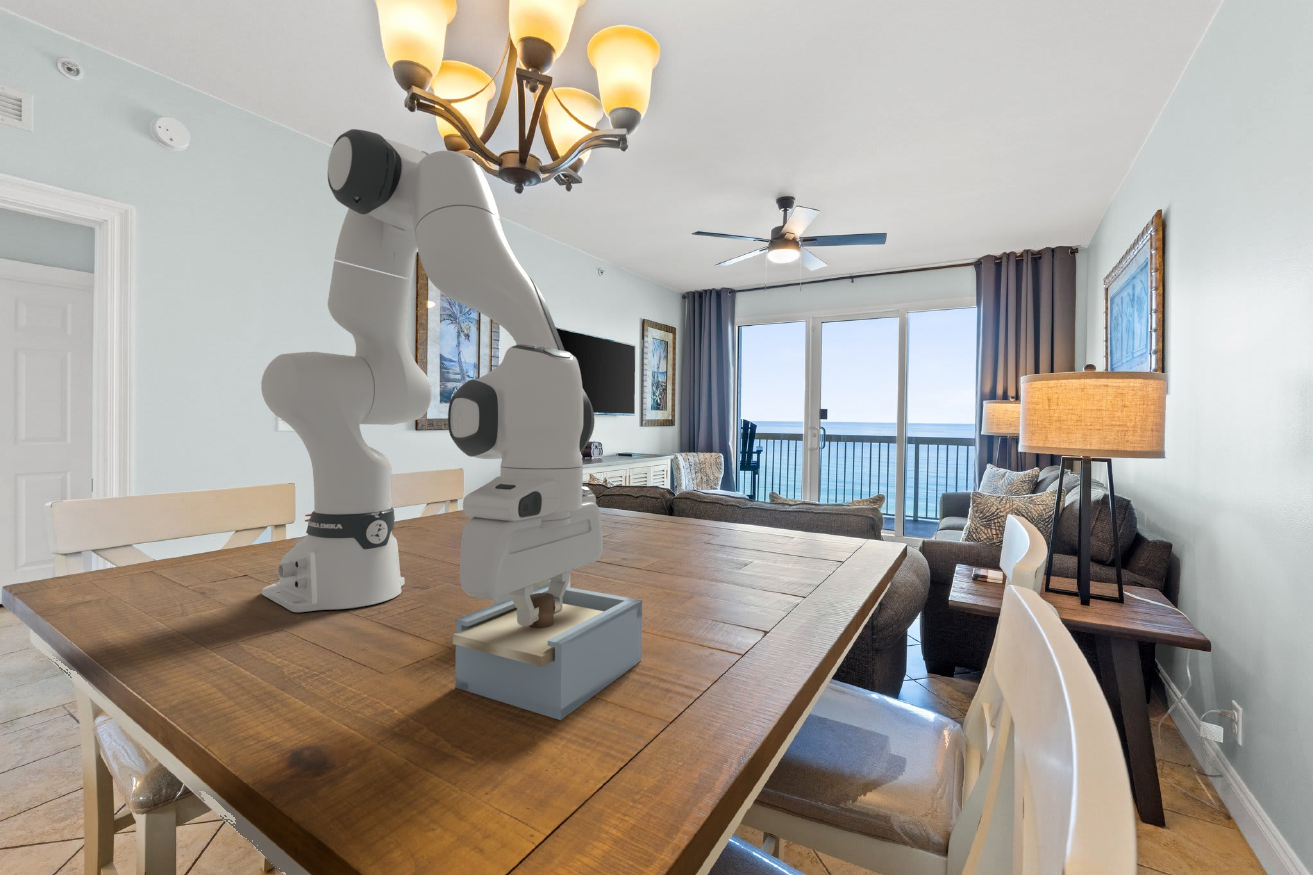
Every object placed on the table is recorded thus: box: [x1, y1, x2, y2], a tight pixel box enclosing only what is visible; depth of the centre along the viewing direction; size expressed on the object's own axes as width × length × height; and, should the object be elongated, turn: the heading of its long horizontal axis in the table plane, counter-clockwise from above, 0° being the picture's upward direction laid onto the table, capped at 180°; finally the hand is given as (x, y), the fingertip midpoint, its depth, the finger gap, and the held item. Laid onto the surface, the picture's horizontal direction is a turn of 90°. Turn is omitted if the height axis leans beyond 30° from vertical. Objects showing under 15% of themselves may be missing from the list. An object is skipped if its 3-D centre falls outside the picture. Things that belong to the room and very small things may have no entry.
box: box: [454, 584, 643, 721], centre depth 65 cm, size 14×16×7 cm
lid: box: [452, 593, 604, 667], centre depth 62 cm, size 12×14×4 cm
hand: (540, 618), depth 62 cm, fingers closed on lid, 3 cm apart
